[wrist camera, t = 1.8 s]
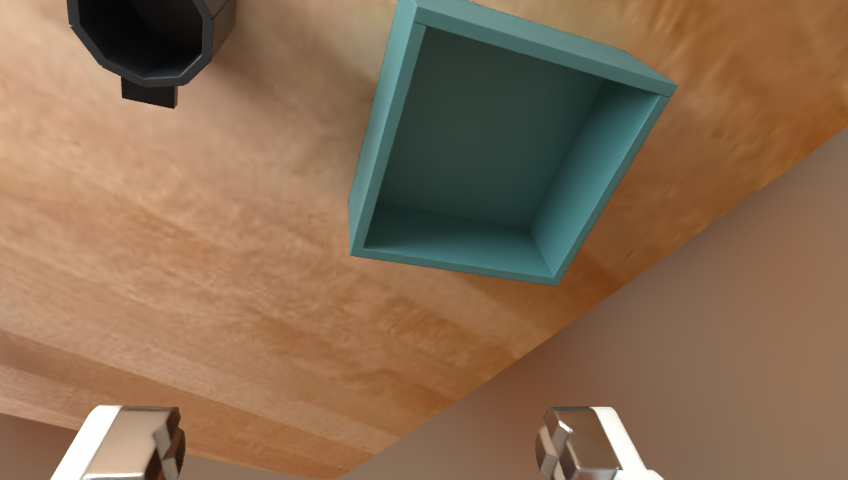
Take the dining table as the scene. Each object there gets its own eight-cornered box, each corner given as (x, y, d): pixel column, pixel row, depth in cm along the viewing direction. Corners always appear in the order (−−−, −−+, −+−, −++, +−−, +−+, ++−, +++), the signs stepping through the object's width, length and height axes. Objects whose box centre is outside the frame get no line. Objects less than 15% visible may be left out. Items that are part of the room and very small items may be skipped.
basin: (402, -20, 30) (416, 5, 25) (624, 50, 35) (678, 85, 29) (348, 201, 39) (349, 256, 34) (529, 233, 44) (557, 286, 38)
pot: (115, -116, 26) (53, -112, 20) (242, -75, 28) (218, -61, 22) (123, 53, 31) (75, 94, 25) (231, 78, 32) (208, 121, 27)
